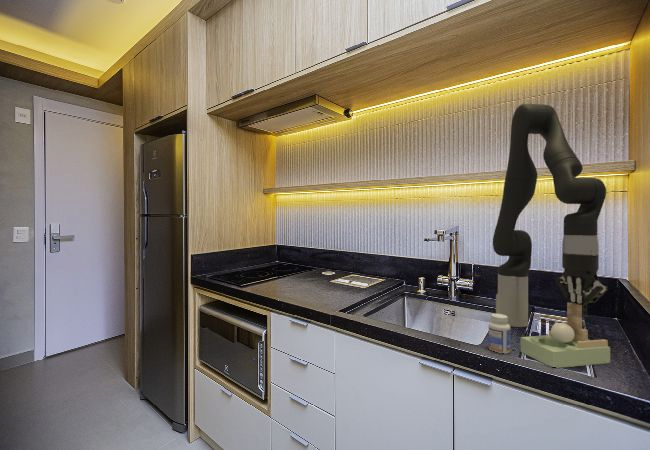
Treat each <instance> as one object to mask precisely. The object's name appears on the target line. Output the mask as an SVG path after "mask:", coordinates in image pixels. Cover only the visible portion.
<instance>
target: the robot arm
mask: <svg viewBox="0 0 650 450" xmlns="http://www.w3.org/2000/svg"><path fill="white" fill-rule="evenodd" d="M531 134H532V135H539V136H541V137H542V138H543V139H544V141H545V146H544V149H543V157H542V158H543V161H544V163H545V165H546V167H547V169H548V170H549V172H550V174H551V177H552V181H553V188H554V194H555V196H556V198H557V199H558V200H559V201H560V202H562V203H563V204H567V205H579V207H578V209H577V211H576V212H572V213H568V214H566V215H564V218H563V236H562V237H563V238H562V244H561V245H562V250H561V251H562V253H561V255H562V257H561V259H562V260H561V263H562V264H561V266H562V269H564V271H563V272H562V276H560V277H558V278H557V277H556V278H555V279H554V281H555V283H556V285H557V287H558V288H559V289H560V292H561V293H562V294H563V296H564V298H566V299H569V300H570V302H572V303H575V304H579V305H582V318H586V316H587V315H588V304H590V303H593V304H594V303H596V302H597V301H598V300H599V299H600V298H602V296H604V295H605V293H606V292H607V291H608V290H609V286H608V285H603V284H602V283H601V282H600V281H599V279H600V277H599V276H598V274H597V273H598V271H599V267H600V265H599V262H600V261H599V256H600V255H599V254H600V253H599V252H600V249H599V248H600V246H599V239H598V219H599V217H600V215H601V211H602V208H603V205H604V203H605V200H606V196H607V188H606V185H605V183H604V182H603V181H602V180H601V179H600V178H598V177H578V176H579V175H580V174H581V173H582V172H583V164H582V162H581V160H580V159H579V157H578V156H577V155H576V153H575V152H574V150H573V149H572V147H571V146H570V144H569V142H568V140H567V138H566V135H565V133H564V129H563V127H562V124H561V121H560V118H559V117H558V114H557V112H556V110H555V108H554V106H551V105H550V104H542V103H541V104H540V103H539V104H538V103H522V104H519V105H518V106H517V108H516V109H515V111H514V112H513V116H512V119H511V125H510V143H509V153H508V163H507V167H506V168H507V169H506V173H505V178H504V184H503V193H502V199H501V204H500V209H499V214H498V218H497V221H496V225H495V228H494V232H493V237H492V248H493V252H494V253H495V254H496V255H498V256H501V257H508V259H507V261H506V262H504V263H502V264H500V265H499V266H497V293H496V294H495V314H502V315H506V316H507V317H508V322H507V324H509V325H510V327H514V328H526V327H528V326H529V271H530V269H531V265H532V253H533V243H532V238H531V236H530V234H529V233H528V232H527V231H525V230H521V229H516V224H517V221H518V218H519V217H520V215H521V213H522V212H523V211H524V209H525V208H526V207H527V206H528V204H529V203H530V202H531V201H532V199H533V197H534V195H535V191H536V187H537V183H538V182H537V181H538V171H537V168H536V165H535V163H534V160H533V159H532V157H531V154H530V151H529V135H531Z"/></svg>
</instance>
